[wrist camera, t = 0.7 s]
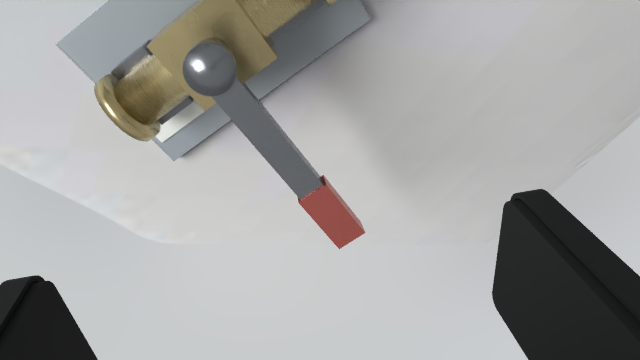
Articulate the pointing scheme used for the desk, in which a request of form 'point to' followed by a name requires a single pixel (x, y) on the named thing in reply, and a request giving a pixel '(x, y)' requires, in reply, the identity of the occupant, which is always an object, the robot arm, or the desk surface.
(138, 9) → the base board
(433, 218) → the desk surface
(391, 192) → the desk surface
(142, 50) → the valve pipe
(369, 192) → the desk surface
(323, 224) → the lever
